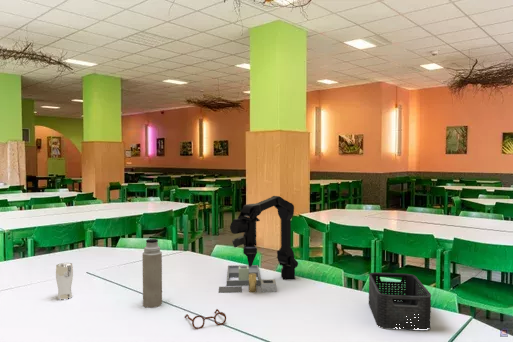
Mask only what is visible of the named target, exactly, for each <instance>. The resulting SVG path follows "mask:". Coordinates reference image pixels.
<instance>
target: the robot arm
mask: <svg viewBox="0 0 513 342" xmlns="http://www.w3.org/2000/svg"><path fill="white" fill-rule="evenodd" d="M273 207H274V208H275V209H277V215H278V216H279V218H280V248H279V250H277V251H276V259H277V261H278V264H279V266H281V267H282V268H281V269H280V270H281V271H280V277H281V278H282V280H296V268H298V267H299V262H298V261H297V259H296V258H295V252H294V251H293V249H292V246H291V244H292V243H291V241H292V237H291V232H292V231H291V229H292V228H291V227H292V226H291V224H292V223H291V220H292V219H293V216H294V214H295V206H294V204H293V202H290V201H287V200H286V199H284V198H283V197H281V196H279V195H272V196H271V197H268V198H266V199H263V200H261V201H259V202H256V203H248V204H244V205H243V206H242V209H241V211H240V213H239V215H238V217H237V218H233V221H232V222H231V223H230V225H229V229H230V232H231V233H232V234H233V235H236V234H243V235H242V236H239V237H235V238H232V246H233V248H237V247H238V246H239V247H240V246H241V245H243V250H242V251H243V254H244V255H245V257H246V258H247V264H248V265H249V267H251V266H252V265H254V264H253V263H254V261H255V258H256V256H257V254H258V247H257V222H260V221H261V220H260V218H258V217H259V216H260V215H261V214H262V212H263V211H266V210H268V209H270V208H273Z"/></svg>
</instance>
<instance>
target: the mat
mask: <svg viewBox="0 0 513 342" xmlns="http://www.w3.org/2000/svg"><path fill="white" fill-rule="evenodd" d="M217 292H218V293H220V294H222V293H227V294H228V293H229V294H230V293H243V286H218V291H217Z"/></svg>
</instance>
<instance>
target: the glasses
mask: <svg viewBox="0 0 513 342" xmlns="http://www.w3.org/2000/svg"><path fill="white" fill-rule="evenodd" d="M214 313H215V314H214V316H206V317H204V316H202V315H196V316H194V317H193V318H191V317H190V315H189V314H185V315H184V318H185V319H186V318H187V319H188V320H189V321H191V325H192V327H193V328H194V329H195V330H199V329H200V330H201V329H202V328H204V326H205V320H208V319H213V320H214V323H215V325H217V326H222V325H224V324H226V322H227V315H226V313H225V312H222V311H220V310H219V309H218V308H216V309H215V311H214ZM218 315H220V316H223V317H224V319H223V322H221V323H218V322H217V317H218ZM197 318H200V319H202V325H201V326H195V321H196V319H197Z"/></svg>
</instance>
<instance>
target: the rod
mask: <svg viewBox="0 0 513 342" xmlns="http://www.w3.org/2000/svg"><path fill="white" fill-rule="evenodd" d="M256 280H257V277H256V274H255V273H250V274H249V286H248V292H249V293H256V292H257V285H256Z"/></svg>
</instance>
